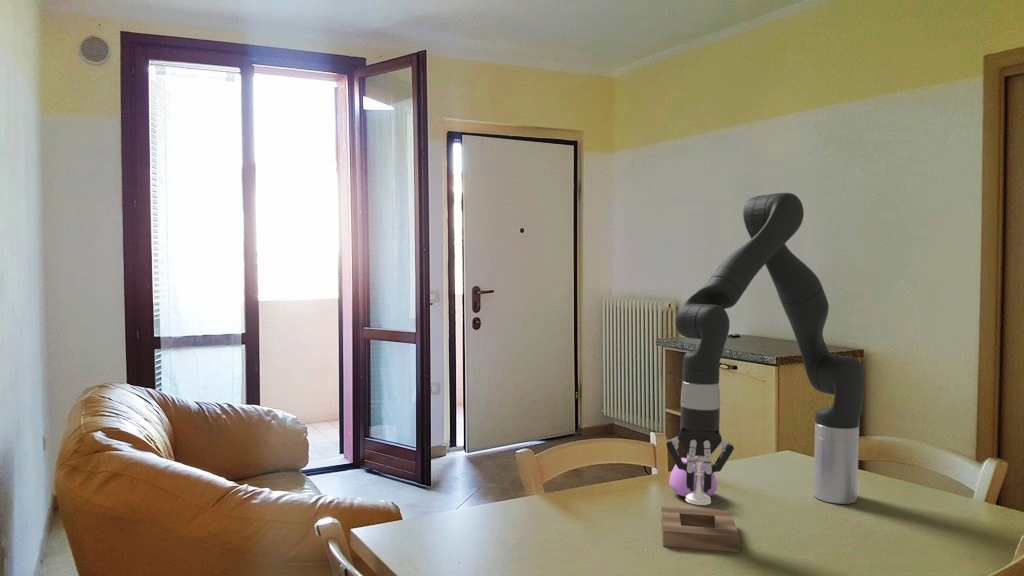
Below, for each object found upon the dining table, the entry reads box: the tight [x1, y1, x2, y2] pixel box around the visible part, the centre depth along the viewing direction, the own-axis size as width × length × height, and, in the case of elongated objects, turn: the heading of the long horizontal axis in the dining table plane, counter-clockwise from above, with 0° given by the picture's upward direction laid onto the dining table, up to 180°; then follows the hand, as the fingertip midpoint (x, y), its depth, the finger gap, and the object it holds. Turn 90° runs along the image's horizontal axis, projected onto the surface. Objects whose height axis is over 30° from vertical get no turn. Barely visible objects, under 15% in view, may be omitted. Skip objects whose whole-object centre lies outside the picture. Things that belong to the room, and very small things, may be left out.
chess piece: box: [685, 455, 712, 506], centre depth 143 cm, size 5×5×10 cm
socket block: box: [660, 506, 740, 553], centre depth 143 cm, size 14×14×3 cm
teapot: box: [668, 457, 718, 501], centre depth 167 cm, size 10×15×9 cm
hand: (698, 490), depth 143 cm, fingers closed on chess piece
